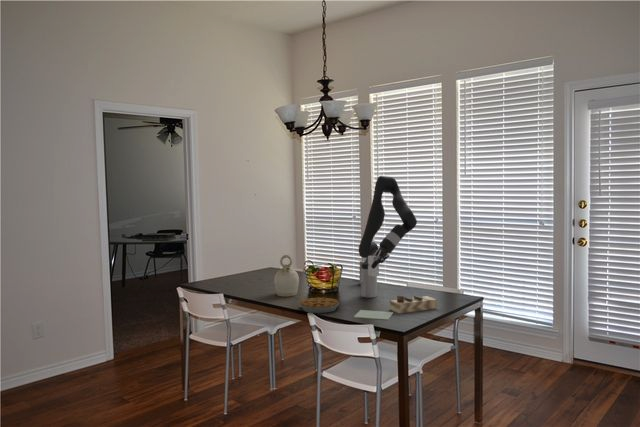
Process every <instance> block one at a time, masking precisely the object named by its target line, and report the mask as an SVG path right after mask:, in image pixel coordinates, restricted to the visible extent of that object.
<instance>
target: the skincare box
mask: <svg viewBox="0 0 640 427" xmlns="http://www.w3.org/2000/svg"><path fill="white" fill-rule="evenodd" d="M363 262H365V260H359V284H360V285H361V281H362V263H363Z"/></svg>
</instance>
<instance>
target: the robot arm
mask: <svg viewBox="0 0 640 427" xmlns="http://www.w3.org/2000/svg"><path fill="white" fill-rule="evenodd" d="M374 185H375V186H374V191H373V197H372V202H371V205H370V210H369V213H368V217H367V220H366V224H365V228H364V232H363V234H362V237H361V240H360V242H359V245H358V255H359V256H360V257H361V258H363V259H365V260H364V261H365V262H363V263H362V281H361V284H360V297H361V298H368V299H369V298H371V299H373V298H377V296H378V276H370V275H368V256H377V257H378V258H377V259H376V261H375V262H374V263H373V264H372V265H371V267H372V268H373V269H375V267H376V266H377V265H378V264H383V263H384V262H385V261H386V260H387V259H389V257H390V254H391V253H392V252H393V251H394V249H396V248H397V246H398V244H400V242H401V240H402V239H403V238H404V236H405V235H407V234H408V233H409V232H410V231H412V230H413V229H415V227H416V225H417V224H418V220H417V218H416V215H415V214H414V212H413V211H412V209H411V208H410V207H409V205H408V203H407V202H406V200H405V199H404V197H403V195H402V192H401V190H400V187H399V184H398V182H397V180H396V178H394V177H393V176H388V175H387V176H386V175H379V176H378V177H377V179H376V181H375V184H374ZM383 193H388V194H389V193H391V195H392V196H393V197H392V206H393V209H394V211H395V212H396V213H397V214H398V216H399V218H400V220H401V221H402V224H401V225H400V224H396V225H394V226H393V227H392V229H391V230H390V231H389V232H388V233H387V234H386V235H385V237H384V238H383V239H382V240H381V242H380V243H379V245H378V244H377V243H376V242H375V241H373V240H374V237H375V235H376V234H377V233H378V232H379V230H380V229H381V228H382V226H383V224H384V220H385V218H386V217H385V216H386V212H385V209H384V205H383V203H382V198H383Z"/></svg>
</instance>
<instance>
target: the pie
mask: <svg viewBox="0 0 640 427" xmlns="http://www.w3.org/2000/svg"><path fill="white" fill-rule="evenodd" d="M339 304H340V302H339V300H338V299H336V298H332V297H328V298H327V297H324V296H323V297H319V296H316V297H309V298H304V299H303V300H300V303H299V305H300V307H301V309H302V310H303V311H304V312H306V313H311V312H312V313H311V314H313V313H314V314H316V313H317V314H322V313H333V312H334V311H336V310H337V307H338V306H339Z"/></svg>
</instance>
